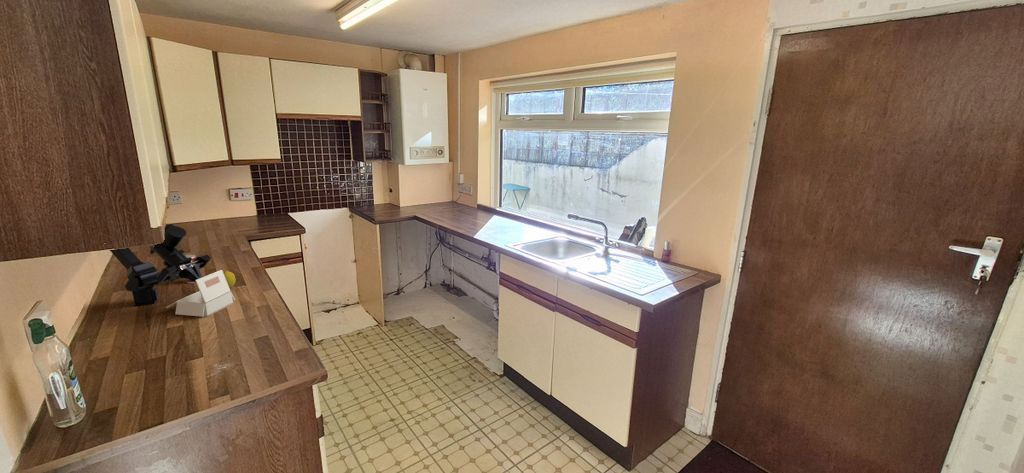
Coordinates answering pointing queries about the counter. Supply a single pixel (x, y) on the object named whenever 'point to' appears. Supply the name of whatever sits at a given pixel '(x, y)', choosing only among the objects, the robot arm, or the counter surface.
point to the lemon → (229, 278)
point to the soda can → (191, 261)
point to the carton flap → (212, 286)
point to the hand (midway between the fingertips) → (202, 283)
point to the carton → (202, 304)
